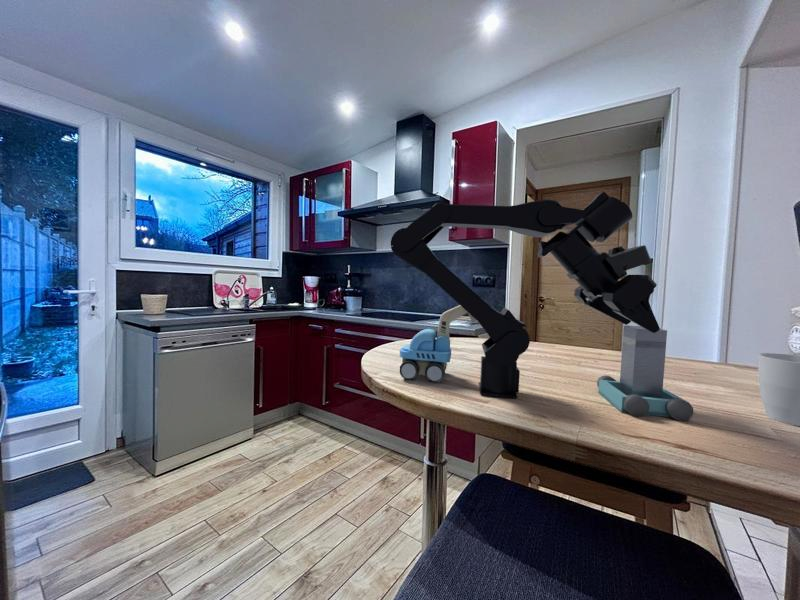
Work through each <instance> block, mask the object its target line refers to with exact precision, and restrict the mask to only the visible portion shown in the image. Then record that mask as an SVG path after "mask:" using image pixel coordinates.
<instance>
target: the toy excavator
mask: <svg viewBox="0 0 800 600" xmlns="http://www.w3.org/2000/svg"><path fill="white" fill-rule="evenodd" d="M466 314H468V317H469V319H470V323H471V324H474V323H475V322H476V321H477V320H476V319H475V318H474V317H473V316H472V315H470V314H469V313H468V312H467V311H466V310H465V309H464V308H463V307H462V306H461V305H459V304H458V306H457V305H456V306H454V307H453V308H450V309H448V310H446V311H444V312H443V313H441V315H440V318H439V321H438V328H437V331H436V330H435V329H433V328H425V329H423V330H420V331H419V332H417V334H415V335H414V336H413V337H412V338H411V340H410V342H409V343H410V344H406V345H403V346H402V347H401V348H399V357H400V358H402V363H401V364H400V366H399V374H400V376H401V378H403V379H404V380H414V379H416V378H417V377H418V376H425V378H426V380H427V381H428V382H430V381H432V383H433V384H438V383H441V381H442V380H443V379H444V377H445V375H446V370H447V367H448V363H450V362H451V358H452V348H451V339H450V324H451V323H452V322H453V321H455V320H457V319H458V318H461V317H463V316H464V315H466Z"/></svg>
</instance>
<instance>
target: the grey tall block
mask: <svg viewBox="0 0 800 600" xmlns="http://www.w3.org/2000/svg"><path fill="white" fill-rule="evenodd" d="M667 336H668V330H665V329H662V328H660V330H659V331H657V332H656V333H652V332H650V331H649V330H647V329H645V328H643V327H641V326H639V325H625V324H623V331H622V346H621V359H620V375H619V376H620V377H619V381H620V387H619V391H621V392H622V393H624V394H625V395H628V396H629V395H632V394H636V395H639V396H641V397H651V398H662V392H663V389H664V376H665V364H666V351H667Z"/></svg>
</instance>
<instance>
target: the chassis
mask: <svg viewBox="0 0 800 600" xmlns="http://www.w3.org/2000/svg"><path fill="white" fill-rule="evenodd" d="M596 385H597V388H598V389H597V390H598V392H597V393H598V394H599V395H600V396H601V397H602V398H604V399H605V400H606V401H607V402H609V403H610V405H612V406H613V407H614V408H615V409H617V410H618V411H619V412H620V413H626V414H630V415H632V416H634V417H637V418H638V417H643V416H645V415H646V416H656V417H657V416H658V417H666V418H667V417H668V418H673V419H674V420H676V421H680V422H685V421H688V420H690V419H692V417H693V415H694V408H693V405H692V404H691V403H690V402H689V401H687V400H685V399H683V398H682V397H680V396H678V395H676V394H674V393H673V392H671V391H669V390H667V389H665V388H663V392H662V398H651V397H641V396H639V395H636V394H632V395H629V396H628V395H625V394H624V393H622V392H621V391H619V387H620V380H616V379H615V378H613V377H612V376H610V375H606V374H605V375H601V376H600V377H598V379H597V382H596Z"/></svg>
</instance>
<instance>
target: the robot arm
mask: <svg viewBox="0 0 800 600" xmlns="http://www.w3.org/2000/svg"><path fill="white" fill-rule="evenodd" d="M632 219H633V213H632V210H631V208H630V207H629V205H627V203H626V202H625V201H621V199H618V198H617V197H614V196H611V195H610V196H609V195H608V194H607V192H605V191H603V192H600V193H599V194H598V195H596V196H595V197H594V198H593V199H592V200H591V202H589V204H587V205H586V206H585V207H584V208H583V209H578V208H572V207H567V206H562V205H561V204H560V203H559V202H558V201H557V200H554V199H542V200H536V201H529V202H524V203H520V204H515V205H483V204H482V205H481V204H479V205H478V204H460V203H459V204H458V203H457V204H456V203H455V204H454V203H453V204H452V203H445V202H437V203H435V204H434V205H433V206H432V207H431V208H430V209H429V210H428V211H427V212H425V213H423V214H422V215H421V216H419V217H418V218H416V219H415V220H413V221H412V222H411V223H410V224H409V225H408V226H406V227H402V228H400V229H398V230H396V231H395V232H394V233H393V234H392V235H391V239H390V248H391V251H392V253H393V254H394V255H395V256H397V257H398V258H400V259H401V260H403V261H405V262H406V263H407V264H409V265H410V266H413V267H414V268H415V269H417V270H419V271H421V272H422V273H423V274H425V275H427V277H429V278H430V280H432V281H433V282H434V283H435V284H436V285H437V286H439V287H440V288H441V289H442V290H443V291H444V292H445V293H446V294H448V296H450V297H451V298H452V299H453V301H455V302H456V303H457V304H458V306H459V305H461V306H462V307H463V308H464V309H465V310H466V311H467V312H468V313H469V314H470V315H472V316H473V317H474V318H475V319H476V321H477V322H478V323H479V324H480V326H481V327H482V328H483V330H484V331H485V332H486V334H487V335H488V336H489V337H488V338H487V339H486V340H485V341H484V342H483V343H481V347H482V350H483V353H484V356H480V375H479V376H480V378H479V379H480V380H479V383H478V387H479V388H478V389H479V395H481V396H489V397H490V396H491V397H500V398H510V399H512V398H513V399H517V398H518V394H517V393H519V392H520V372H521V371H520V369H519V367H518V363H517V362H518V360H519V357H520V355H522V354H524V353H525V352H526V350H528V348H529V346H530V341H531V339H530V338H531V337H530V334H529V333H528V331H527V330H526V329H525V327H526V326H527V324H526V323H524V322H523V321H521V320H519V319H517V318H516V317H515V315H514V314H513V313H512V312H511V311H510V310H509V309H508V308H506V307H503V308H502V310H501V311H498V310H496V309H494V308H493V307H491V306H490V305H489V304H488V303H487V302H486V301H485V300H483V299H482V297H480V296H479V295H478V294H477V293H476V292H474V290H472V289H471V288H470V287H469V286H468V285H467V284H466V283H465V282H464V281H462V280H461V279H460V278H459V277H458V276H457V275H456V274H454V273H453V272H452V271H451V270H450V269H449V268H448V267H447V266H446V265H445V264H443V263H442V262H441V261H440V260H439V259H438V258H437V256H436V255H435V253H434V252H433V251H432V249H431V248H430V247H429V245H428V244H429V243H430V242H431V241H432V240H434V238H435V237H436V236H437V235H438V234H439V233H440V232H441V231H442V230H443V229H444V228H445V227H446V228H447V227H450V228H452V227H453V228H472V229H474V228H476V229H477V228H478V229H494V230H507V231H511V232H514V233H517V234H521V235H525V236H528V237H529V236H530V237H532V238H545V237H547V236H548V235H551V234H553V233H554V232H556V231H558V232H557V233H556V234H555V235H554V236H552V237H551V238H550V239H548V240H547V241H545V240H543V241H540V242H538V243H537V245H538V250H537V257H538V258H539V259H541V258H543V257H546V256H548V255H549V253H550V254H551V255H552V256H553V257H554V259H555V260H556V261H557V262H558V263H559V264H560V265H561V267H563V268H564V270H566V272H567V273H566V276H567V277H568V278H569V279H570V280H573V279H574V281H575V282H576V283H577V284H578V285H579V286H577V287H576V288H575V289H574V297H575V298H576V299H577V301H578V302H579V303H582V304H584V305H585V306H586V307H588V308H591V309H593V310H595V311H597V312H600V313H601V314H603V315H605V316H607V317H609V318H611V319H613V320H615V321H617V322H619V323H622V324H623V325H625V326H628V324H630V323H634V324H636V326H641V327H643V328H645V329H647V330H649V331H650V332H652V333H656V332H657V331H659V330H660V329H661V328H660V325H659V323H658V321H657V318H656V316H655V313H654V312H653V309H652V306H651V304H650V297H651V295H652V294H654V292H655V288H656V287H657V283H656V282H655V281H654V280H653V278H652V277H650V275H647V274H628V272H627V271H628V270H629V271H630V270H632V269H634V268H638V267H640V266H646V265H651V264H652V262H653V261H652V259H651V257H650V254H649V251H648V249H647V246H646V245H645V244H644V245H638V246H634V247H630V248H626V249H625V248H624V247H623V246H622V245H621V246H615V247H612V248H610V249H608V252H599V251H598V250H597V249H596V248H595V247H594V246H593V245H592V244H591V243H594V242H595V241H596V242H599V243H603V242H605V241H606V240H607V239H608V238H610V237H611V236H612V235H614V234H615V233H616V232H617V231H618V230H620V229H621V228H622V227H623V226H625V225H626V224H627V223H629V222H630V221H632ZM573 224H575V225H574V226H573V227H572V228H570V230H567V232H564V231H559V230H563V229H566V228H568V227H569V226H572V225H573ZM590 242H591V243H590ZM468 313H467V314H468ZM469 314H468V315H469Z"/></svg>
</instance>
